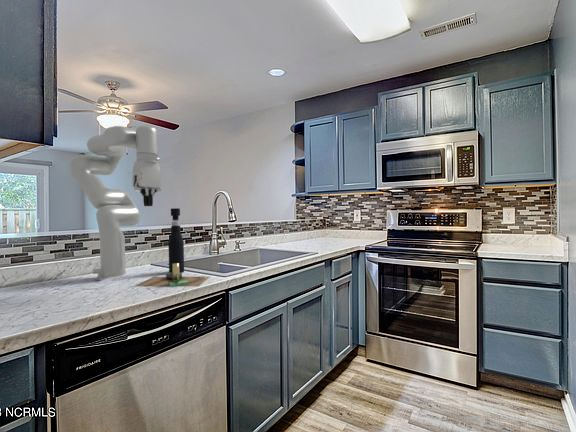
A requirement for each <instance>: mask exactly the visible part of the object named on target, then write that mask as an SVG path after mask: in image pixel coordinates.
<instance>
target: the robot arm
mask: <svg viewBox="0 0 576 432" xmlns="http://www.w3.org/2000/svg"><path fill="white" fill-rule="evenodd" d="M86 146H87V149H88V151H89V152H91V153H92V154H94V155H89V154H77V155H74V156H73V157H72V158H71V159H70V161H69V169H70V173H71V175H72V178H73V179H74V182H76V184H77V185H78V186H79V187H80V188H81V189H82V190H83V192H84V194H85V196H86V197H87V199H88V201H89V202H90V204H91V205H92V207H93V208H95V209H96V210H97V211H96V213H95V215H96V216H95V218H96V221H97V222H96V223H97V227H98V235H99V236H98V237H99V257H100V261H99V262H100V264H99V265H100V267H99V268H93V270H92V271H91V273H92V274H93V275H97V276H96V280H97V281H103V280H106V279H109V278H115V277H120V276H124V275H126V274H127V273H126V247H125V246H126V241H125V235H124V232H123V231H122V230H121V229H120V228H122V227H125V228H126V227H133V226H136V225H138V224H139V223H140V220H141V212H140V210H139V208H138V206H137V205H136V204H135V202H134V200H133V199H132V197H131V196H130V194H129V193H128V192H126V191H125V190H124V189H120V188H119V189H117V188H116V189H115V188H109V187H107V186H106V185H105V183H104V182H103V181H102V180H101V179H100V178H99V177H98V176H99V175H100V176H110V175H112V174H113V173H114V172H115V170H116V168H117V166H118V164H119V163H120V161H121V160H122V157H123V155H124V153H125V147H126V148H131V149H136V150H135V151H136V152H135V153H136V154H135V155H136V161H134V163H133V168H132V177H131V178H132V181H131V183H132V184H131V185H132V187H133V188H134V191H136V192H139V193H140V194H141V196H142V198H143V199H142V201H143V206H144V207H153V203H154V196H155V194H157V192H160V191H161V190H162V189H161V187H162V173H161V166H160V164H159V161H161V160H160V159H161V158H160V157H158V130H157V129H156V128H155V127H153V126H149V125H140V126H138V127H136V129H135V128H131V127H126V126H122V125H114V126H109V127H107V128H106V129H105V130H104V131H103V133H102V134H99V135H94V136H92V137H90V138H89V139H88V140H87V141H86ZM97 175H98V176H97Z"/></svg>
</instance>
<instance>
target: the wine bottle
mask: <svg viewBox="0 0 576 432" xmlns="http://www.w3.org/2000/svg"><path fill="white" fill-rule="evenodd" d="M170 216H171V217H172V221H171V226H170V227H171V228H170V229H171V230H170V231H171V232H170V235H169V239H168V273H169V272H173V265H172V264H173V263H179V272H182V274H183V273H185V251H184V250H185V249H184V245H185V244H184V238H183V235H182V233H181V226H180V225H181V224H180V220H179V217H180V216H181V209H180V208H175V207H174V208H170Z"/></svg>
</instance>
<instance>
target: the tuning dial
mask: <svg viewBox="0 0 576 432" xmlns="http://www.w3.org/2000/svg"><path fill="white" fill-rule="evenodd" d="M172 265H173V272H169V271H168V272H166V273H165V277H166V279H167V280H174V281H175V282H179V279H180V278H182V277H183V273H182V272H179V263H173V264H172Z"/></svg>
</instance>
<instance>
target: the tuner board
mask: <svg viewBox="0 0 576 432" xmlns="http://www.w3.org/2000/svg"><path fill="white" fill-rule="evenodd" d="M209 278H211V276H207V275H200V276H182V278H180V279H179V282H175V281H174V280H167V279H166V276H153V277H151V278H148V279H146V280H144V281H143V282H140V283H138V284H136V285H135V287H200V286H201V285H202V284H204V282H206V281H207V280H208V279H209Z"/></svg>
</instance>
